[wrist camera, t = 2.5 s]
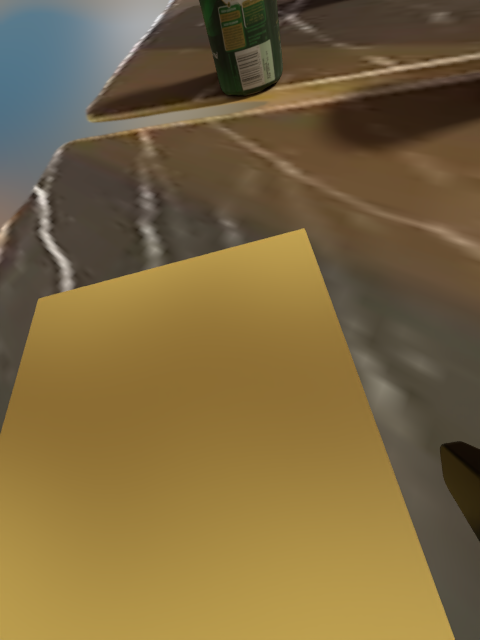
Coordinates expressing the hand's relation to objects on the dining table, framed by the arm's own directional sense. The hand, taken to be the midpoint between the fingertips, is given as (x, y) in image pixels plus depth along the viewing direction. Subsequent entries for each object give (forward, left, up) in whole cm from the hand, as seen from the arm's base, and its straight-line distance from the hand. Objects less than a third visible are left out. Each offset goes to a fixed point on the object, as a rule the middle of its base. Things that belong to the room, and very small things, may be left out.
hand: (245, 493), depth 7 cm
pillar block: (+1, +1, -9) cm, 9 cm away
